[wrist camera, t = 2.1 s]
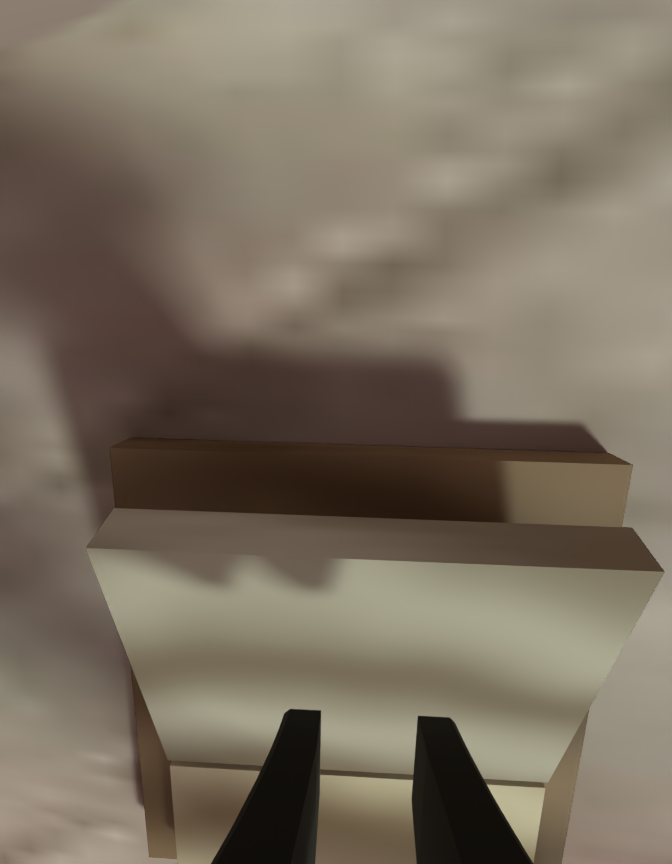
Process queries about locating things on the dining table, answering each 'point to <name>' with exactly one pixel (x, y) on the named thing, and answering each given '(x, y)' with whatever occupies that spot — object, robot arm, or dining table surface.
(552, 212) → the dining table surface
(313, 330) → the dining table surface
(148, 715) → the floor board
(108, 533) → the angled plank
